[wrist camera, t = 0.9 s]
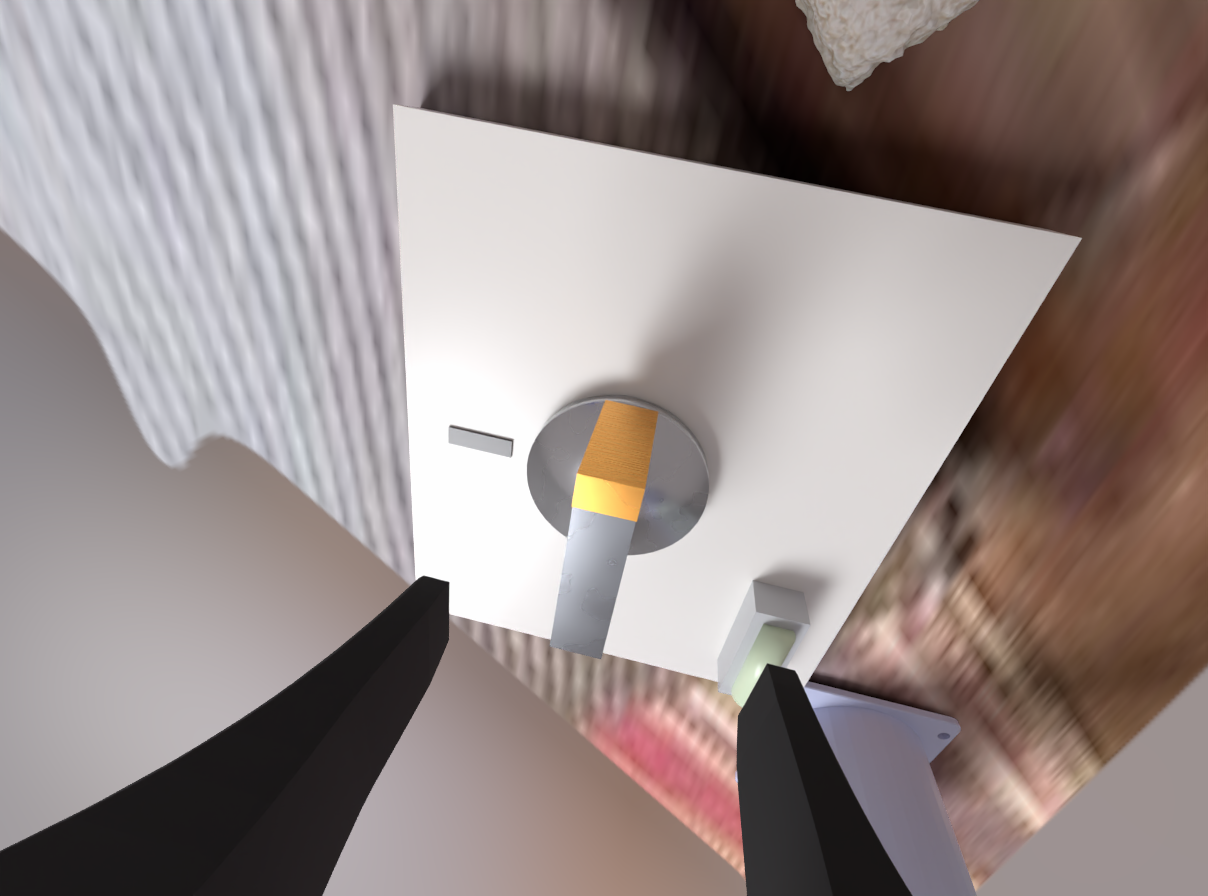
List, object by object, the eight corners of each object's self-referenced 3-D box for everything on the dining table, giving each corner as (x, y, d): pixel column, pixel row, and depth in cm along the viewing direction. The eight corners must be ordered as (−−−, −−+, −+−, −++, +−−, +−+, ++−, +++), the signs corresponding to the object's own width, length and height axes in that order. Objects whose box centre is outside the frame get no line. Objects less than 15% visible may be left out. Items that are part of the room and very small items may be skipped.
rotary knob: (683, 561, 20) (677, 684, 15) (524, 523, 20) (473, 632, 16) (734, 410, 16) (745, 512, 12) (540, 367, 17) (480, 450, 12)
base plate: (790, 672, 25) (803, 755, 21) (431, 582, 26) (390, 647, 22) (1047, 229, 14) (1153, 256, 11) (418, 107, 15) (339, 98, 12)
